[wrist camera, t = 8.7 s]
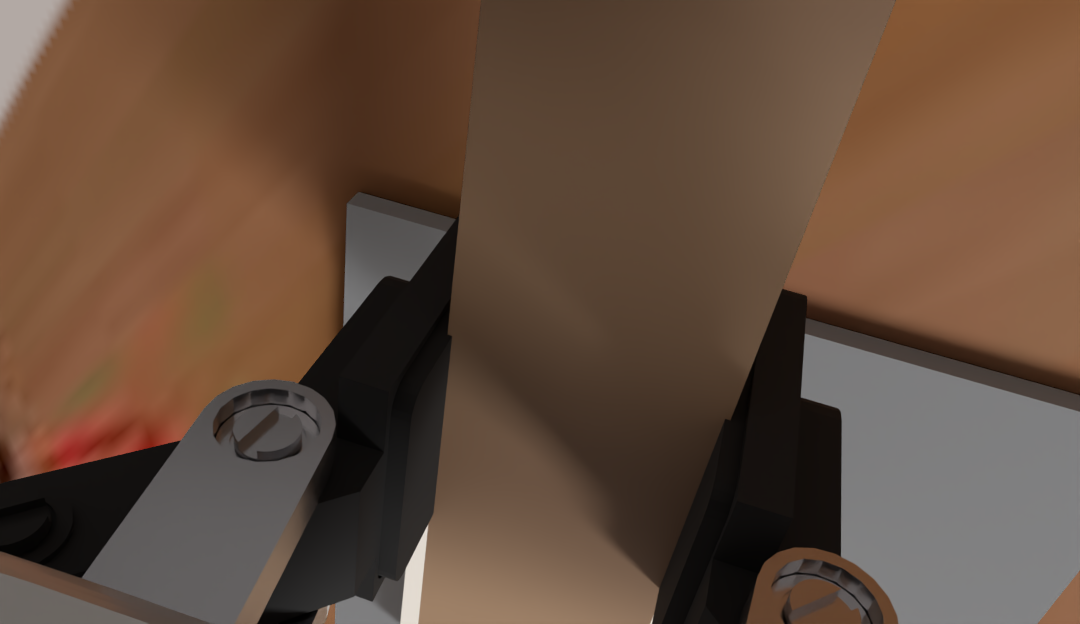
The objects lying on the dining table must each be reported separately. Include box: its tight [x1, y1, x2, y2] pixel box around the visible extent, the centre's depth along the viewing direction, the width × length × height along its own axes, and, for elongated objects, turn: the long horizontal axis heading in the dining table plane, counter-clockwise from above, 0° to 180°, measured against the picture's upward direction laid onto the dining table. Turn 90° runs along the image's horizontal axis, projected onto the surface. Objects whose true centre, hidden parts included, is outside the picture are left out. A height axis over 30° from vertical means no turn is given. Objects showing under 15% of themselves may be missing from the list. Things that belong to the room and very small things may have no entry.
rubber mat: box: [335, 192, 1080, 624], centre depth 24 cm, size 16×18×1 cm
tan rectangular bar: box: [418, 0, 896, 624], centre depth 12 cm, size 18×3×4 cm, turn 171°
